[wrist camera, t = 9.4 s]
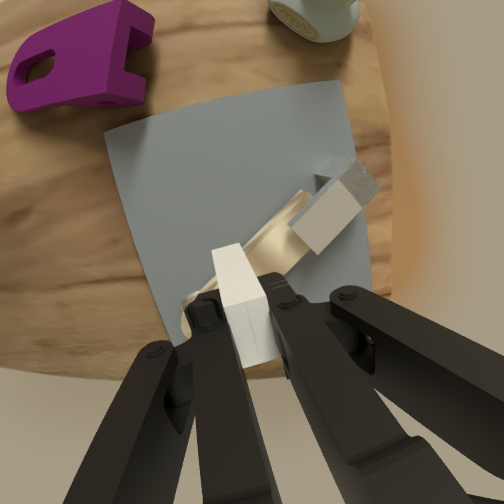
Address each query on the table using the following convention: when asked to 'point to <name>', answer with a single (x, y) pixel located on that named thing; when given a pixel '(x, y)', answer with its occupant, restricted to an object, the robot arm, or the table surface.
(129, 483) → the robot arm
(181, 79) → the table surface
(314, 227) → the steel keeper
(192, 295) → the cylinder
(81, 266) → the table surface
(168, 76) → the table surface
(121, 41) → the mounting bracket
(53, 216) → the table surface
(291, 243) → the brass bar
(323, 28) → the air freshener
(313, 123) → the slate board
